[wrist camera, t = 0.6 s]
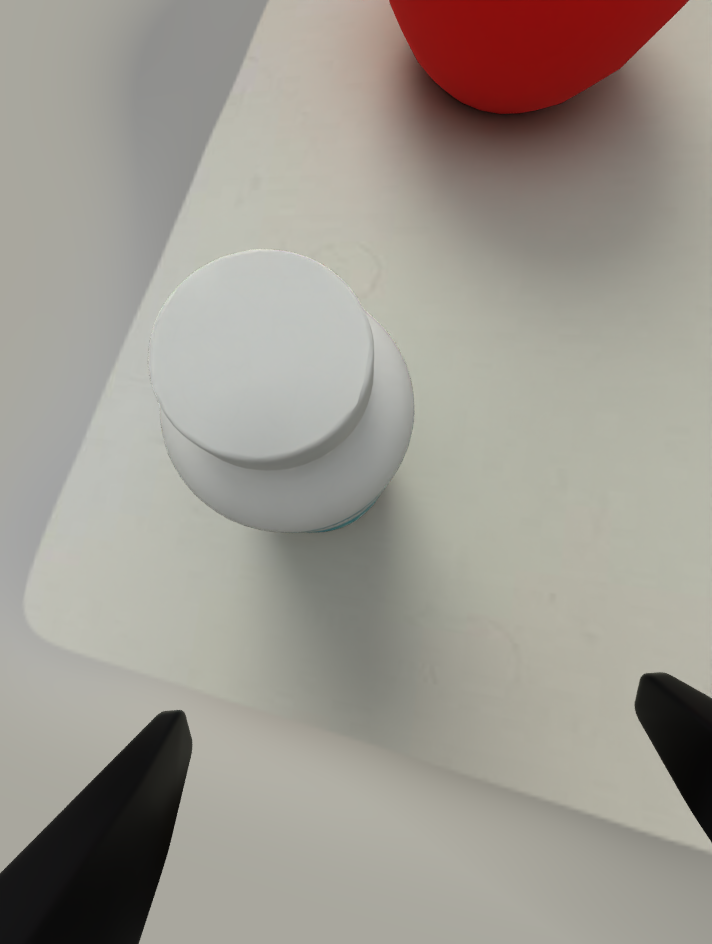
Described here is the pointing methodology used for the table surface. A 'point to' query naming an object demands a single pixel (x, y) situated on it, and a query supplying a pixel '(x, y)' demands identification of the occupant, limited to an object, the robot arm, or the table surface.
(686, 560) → the table surface
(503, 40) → the vase
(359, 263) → the table surface
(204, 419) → the pill bottle
